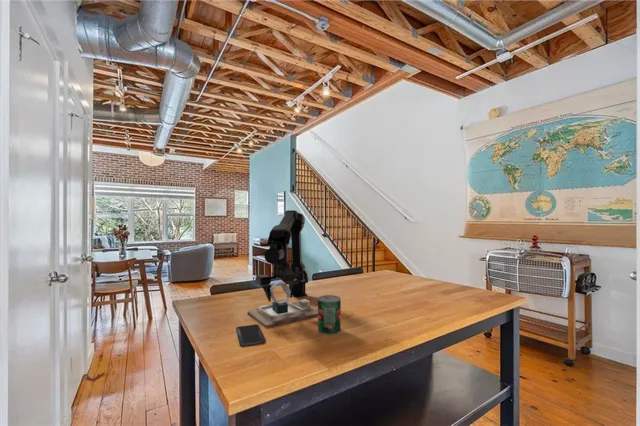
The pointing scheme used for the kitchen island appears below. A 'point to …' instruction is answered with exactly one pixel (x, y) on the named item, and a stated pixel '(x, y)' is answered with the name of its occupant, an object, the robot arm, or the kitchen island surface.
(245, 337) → the phone
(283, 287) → the watch
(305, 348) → the kitchen island surface
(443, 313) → the kitchen island surface
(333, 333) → the canned tomato
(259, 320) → the charging board
